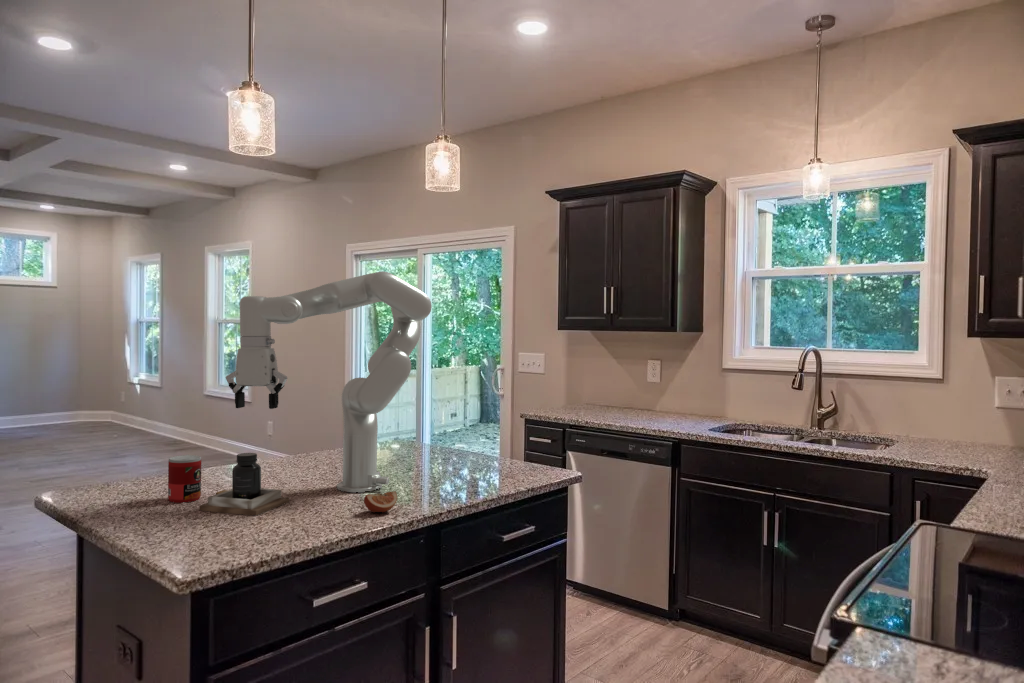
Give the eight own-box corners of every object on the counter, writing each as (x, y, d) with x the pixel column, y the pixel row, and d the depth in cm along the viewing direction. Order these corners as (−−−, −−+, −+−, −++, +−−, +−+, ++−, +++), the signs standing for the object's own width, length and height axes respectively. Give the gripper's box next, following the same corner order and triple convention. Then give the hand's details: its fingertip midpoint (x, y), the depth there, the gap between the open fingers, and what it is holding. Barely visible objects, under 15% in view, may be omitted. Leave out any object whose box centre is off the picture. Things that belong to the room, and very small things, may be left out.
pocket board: (289, 502, 174) (289, 489, 174) (256, 515, 160) (256, 502, 160) (235, 497, 178) (235, 485, 178) (199, 510, 164) (199, 497, 164)
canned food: (188, 504, 170) (188, 461, 170) (160, 502, 172) (161, 459, 171) (207, 497, 177) (208, 456, 177) (181, 495, 179) (181, 454, 179)
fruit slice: (389, 507, 171) (390, 487, 171) (402, 513, 165) (403, 493, 165) (359, 512, 165) (360, 492, 165) (372, 518, 160) (372, 497, 160)
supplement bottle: (237, 498, 172) (237, 451, 172) (264, 497, 173) (264, 451, 173) (228, 504, 165) (228, 456, 165) (256, 504, 166) (257, 456, 166)
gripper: (293, 342, 177) (294, 406, 178) (234, 342, 181) (235, 405, 181) (277, 343, 170) (278, 410, 170) (217, 343, 173) (218, 409, 174)
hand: (256, 407), depth 176 cm, fingers open, 9 cm apart
